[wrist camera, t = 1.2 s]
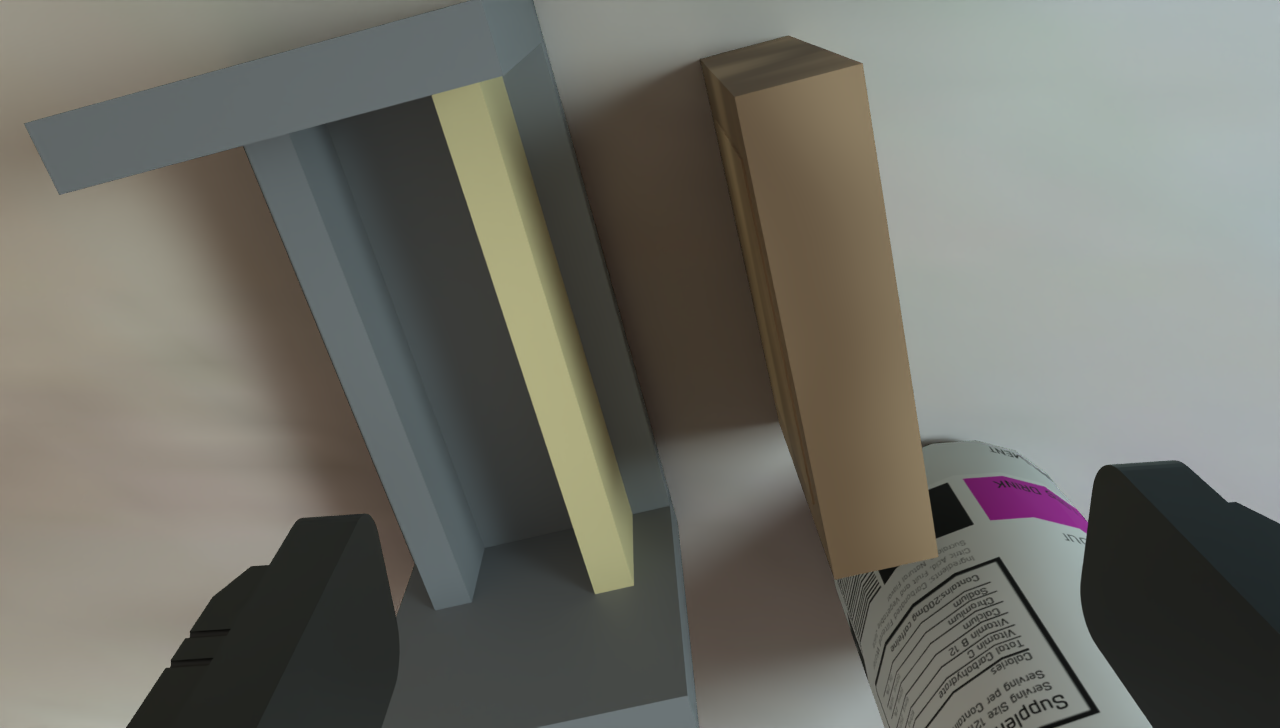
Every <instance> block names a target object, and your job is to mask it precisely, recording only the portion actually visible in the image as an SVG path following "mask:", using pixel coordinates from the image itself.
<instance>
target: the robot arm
mask: <svg viewBox="0 0 1280 728" xmlns="http://www.w3.org/2000/svg"><path fill="white" fill-rule="evenodd" d="M1080 597H1081V606H1082V611H1083V616H1084V619H1085V623H1086V626H1087V628H1088V631H1089V633H1090V635H1091V637H1092V639H1093V641H1094V643H1095V644H1096V646H1097V647H1098V649H1099V650H1100V652H1101V653H1102V654H1103V656H1104V657H1105V659H1106V660H1107V662H1108V663H1109V665H1110V666H1111V667H1112V669H1113V670H1114V672H1115V673H1116V675H1117V676H1118V678H1119V679H1120V681H1121V682H1122V683H1123V685H1124V686H1125V688H1126V689H1127V691H1128V692H1129V694H1130V695H1131V697H1132V698H1133V699H1134V701H1135V702H1136V704H1137V705H1138V707H1139V708H1140V710H1141V711H1142V713H1143V714H1144V715H1145V717H1146V718H1147V720H1148V721H1149V723H1150V724H1151V726H1152V727H1153V728H1280V524H1279V523H1277V522H1275V521H1273V520H1271V519H1269V518H1267V517H1265V516H1263V515H1261V514H1259V513H1257V512H1255V511H1253V510H1251V509H1249V508H1247V507H1245V506H1243V505H1241V504H1239V503H1237V502H1230V503H1228V502H1227V501H1226V500H1225V499H1223V498H1222V497H1221V496H1220V495H1219V494H1218V493H1217V492H1216V491H1215V490H1213V489H1212V488H1211V487H1210V486H1209V485H1208V484H1207V483H1206V482H1204V481H1203V480H1202V479H1201V478H1200V477H1199V476H1198V475H1197V474H1195V473H1194V472H1193V471H1192V470H1191V469H1190V468H1189V467H1188V466H1186V465H1185V464H1184V463H1182V462H1179V461H1174V460H1172V461H1157V462H1143V463H1128V464H1113V465H1105V466H1103V467H1102V468H1101V469H1100V470H1099V471H1098V473H1097V475H1096V477H1095V480H1094V484H1093V490H1092V497H1091V505H1090V513H1089V520H1088V528H1087V536H1086V543H1085V551H1084V559H1083V566H1082V574H1081V582H1080ZM399 656H400V643H399V631H398V625H397V620H396V615H395V611H394V606H393V601H392V596H391V592H390V587H389V582H388V577H387V573H386V568H385V563H384V559H383V554H382V549H381V544H380V540H379V535H378V531H377V528H376V525H375V522H374V520H373V519H372V517H371V516H370V515H369V514H354V515H339V516H324V517H310V518H301V519H299V520H297V521H296V522H295V524H294V525H293V527H292V528H291V530H290V532H289V533H288V535H287V537H286V538H285V540H284V542H283V543H282V545H281V547H280V548H279V550H278V552H277V553H276V555H275V557H274V558H273V560H272V562H271V563H270V565H264V566H251V567H250V568H248V569H247V570H246V571H245V572H243V573H242V574H241V575H240V576H238V577H237V578H236V579H235V580H233V581H232V582H231V583H230V584H228V585H227V586H226V587H225V588H223V589H222V590H221V591H220V592H218V593H217V594H216V595H215V596H213V597H212V599H211V600H210V602H209V603H208V605H207V606H206V608H205V609H204V611H203V612H202V614H201V616H200V617H199V619H198V620H197V622H196V623H195V625H194V626H193V628H192V629H191V631H190V638H185V640H184V641H183V643H182V644H181V646H180V647H179V649H178V650H177V652H176V653H175V655H174V656H173V658H172V659H171V667H170V668H165V670H164V671H163V673H162V674H161V676H160V677H159V679H158V680H157V682H156V683H155V685H154V686H153V688H152V689H151V691H150V692H149V694H148V695H147V697H146V699H145V700H144V702H143V703H142V705H141V706H140V708H139V709H138V711H137V712H136V714H135V715H134V717H133V718H132V720H131V721H130V723H129V724H128V726H127V727H126V728H382V725H383V722H384V719H385V716H386V713H387V710H388V707H389V704H390V700H391V697H392V694H393V691H394V688H395V685H396V681H397V676H398V669H399Z"/></svg>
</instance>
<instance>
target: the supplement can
mask: <svg viewBox="0 0 1280 728" xmlns="http://www.w3.org/2000/svg"><path fill="white" fill-rule="evenodd" d="M922 452H923V459H924V465H925V472H926V478H927V485H928V491H929V498H930V504H931V510H932V517H933V523H934V530H935V536H936V543H937V549H938V556H939V557H937V558H932V559H928V560H923V561H919V562H914V563H910V564H905V565H900V566H896V567H891V568H887V569H882V570H878V571H873V572H868V573H864V574H859V575H855V576H850V577H846V578H841V579H837V580H835V579H834V582H835V587H836V590H837V593H838V596H839V599H840V601H841V604H842V607H843V610H844V613H845V616H846V619H847V621H848V624H849V627H850V630H851V633H852V636H853V639H854V641H855V644H856V647H857V650H858V653H859V656H860V659H861V661H862V664H863V667H864V670H865V673H866V676H867V679H868V681H869V684H870V687H871V690H872V693H873V696H874V699H875V701H876V704H877V707H878V710H879V713H880V716H881V719H882V722H883V724H884V727H885V728H1153V727H1152V726H1151V724H1150V723H1149V721H1148V720H1147V718H1146V717H1145V715H1144V714H1143V713H1142V711H1141V710H1140V708H1139V707H1138V705H1137V704H1136V702H1135V701H1134V699H1133V698H1132V697H1131V695H1130V694H1129V692H1128V691H1127V689H1126V688H1125V686H1124V685H1123V683H1122V682H1121V681H1120V679H1119V678H1118V676H1117V675H1116V673H1115V672H1114V670H1113V669H1112V667H1111V666H1110V665H1109V663H1108V662H1107V660H1106V659H1105V657H1104V656H1103V654H1102V653H1101V652H1100V650H1099V649H1098V647H1097V646H1096V644H1095V643H1094V641H1093V639H1092V637H1091V635H1090V633H1089V631H1088V628H1087V626H1086V623H1085V619H1084V616H1083V611H1082V606H1081V597H1080V582H1081V574H1082V566H1083V559H1084V551H1085V543H1086V536H1087V528H1088V522H1087V521H1086V520H1085V518H1084V517H1083V516H1082V515H1081V514H1080V513H1079V511H1078V510H1077V509H1076V508H1075V507H1074V505H1073V504H1072V503H1071V502H1070V501H1069V500H1068V498H1067V497H1066V496H1065V495H1064V494H1063V493H1062V491H1061V490H1060V489H1059V488H1058V487H1057V485H1056V484H1055V483H1054V482H1053V481H1052V480H1051V478H1050V477H1049V476H1048V475H1047V474H1046V473H1045V472H1044V471H1043V470H1041V469H1040V468H1038V467H1037V466H1036V465H1034V464H1033V463H1032V462H1030V461H1029V460H1027V459H1026V458H1025V457H1023V456H1022V455H1020V454H1019V453H1018V452H1016V451H1014V450H1010V449H1006V448H1003V447H999V446H995V445H991V444H987V443H983V442H979V441H963V442H949V443H935V444H930V445H928V446H925V447H923V448H922ZM833 577H834V576H833Z"/></svg>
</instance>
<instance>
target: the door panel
mask: <svg viewBox="0 0 1280 728" xmlns="http://www.w3.org/2000/svg"><path fill="white" fill-rule="evenodd" d="M700 62H701V66H702V71H703V76H704V80H705V85H706V89H707V94H708V99H709V103H710V108H711V112H712V117H713V122H714V126H715V131H716V135H717V140H718V144H719V149H720V154H721V158H722V163H723V167H724V172H725V177H726V181H727V186H728V190H729V195H730V200H731V204H732V209H733V213H734V218H735V222H736V227H737V232H738V236H739V241H740V245H741V250H742V255H743V259H744V264H745V268H746V273H747V278H748V282H749V287H750V291H751V296H752V301H753V305H754V310H755V314H756V319H757V323H758V328H759V333H760V337H761V342H762V346H763V351H764V356H765V360H766V365H767V369H768V374H769V379H770V383H771V388H772V392H773V397H774V401H775V406H776V411H777V415H778V420H779V423H780V426H781V429H782V432H783V435H784V438H785V440H786V443H787V446H788V449H789V452H790V455H791V457H792V460H793V463H794V466H795V469H796V472H797V474H798V477H799V480H800V483H801V486H802V489H803V491H804V494H805V497H806V500H807V503H808V506H809V508H810V511H811V514H812V517H813V520H814V523H815V525H816V528H817V531H818V534H819V537H820V540H821V542H822V545H823V548H824V551H825V554H826V557H827V559H828V562H829V565H830V568H831V571H832V574H833V576H834V579H835V580H837V579H841V578H846V577H850V576H855V575H859V574H864V573H868V572H873V571H878V570H882V569H887V568H891V567H896V566H900V565H905V564H910V563H914V562H919V561H923V560H928V559H932V558H937V557H939V556H938V549H937V543H936V536H935V530H934V523H933V517H932V510H931V504H930V498H929V491H928V485H927V478H926V472H925V465H924V459H923V452H922V446H921V439H920V433H919V426H918V420H917V413H916V407H915V400H914V394H913V387H912V381H911V374H910V368H909V361H908V355H907V348H906V342H905V335H904V329H903V322H902V316H901V310H900V303H899V297H898V290H897V284H896V277H895V271H894V264H893V258H892V251H891V245H890V238H889V232H888V225H887V219H886V212H885V206H884V199H883V193H882V186H881V180H880V173H879V167H878V160H877V154H876V147H875V141H874V135H873V128H872V122H871V115H870V109H869V102H868V96H867V89H866V83H865V76H864V70H863V63H860V62H857V61H855V60H852V59H849V58H847V57H844V56H841V55H839V54H836V53H833V52H831V51H828V50H825V49H823V48H820V47H817V46H815V45H812V44H809V43H807V42H804V41H801V40H799V39H796V38H793V37H791V36H785V37H781V38H778V39H774V40H770V41H766V42H763V43H759V44H755V45H751V46H747V47H744V48H740V49H736V50H732V51H729V52H725V53H721V54H717V55H714V56H710V57H706V58H702V59H700Z"/></svg>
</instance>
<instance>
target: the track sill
mask: <svg viewBox="0 0 1280 728" xmlns="http://www.w3.org/2000/svg"><path fill="white" fill-rule="evenodd" d="M24 125H25V127H26V129H27V131H28V133H29V135H30V137H31V139H32V141H33V143H34V145H35V147H36V149H37V151H38V153H39V155H40V157H41V159H42V161H43V163H44V165H45V167H46V169H47V171H48V173H49V175H50V177H51V179H52V181H53V183H54V185H55V187H56V189H57V191H58V193H59V195H61V194H65V193H68V192H72V191H76V190H79V189H83V188H87V187H91V186H94V185H98V184H102V183H106V182H109V181H113V180H117V179H120V178H124V177H128V176H132V175H135V174H139V173H143V172H147V171H150V170H154V169H158V168H161V167H165V166H169V165H173V164H176V163H180V162H184V161H188V160H191V159H195V158H199V157H203V156H206V155H210V154H214V153H217V152H221V151H225V150H229V149H232V148H236V147H240V146H243V147H244V150H245V152H246V154H247V157H248V159H249V162H250V164H251V167H252V169H253V171H254V174H255V176H256V179H257V181H258V184H259V186H260V189H261V191H262V193H263V196H264V198H265V201H266V203H267V206H268V208H269V210H270V213H271V215H272V218H273V220H274V223H275V225H276V227H277V230H278V232H279V235H280V237H281V240H282V242H283V244H284V247H285V249H286V252H287V254H288V257H289V259H290V261H291V264H292V266H293V269H294V271H295V274H296V276H297V278H298V281H299V283H300V286H301V288H302V291H303V293H304V296H305V298H306V300H307V303H308V305H309V308H310V310H311V313H312V315H313V317H314V320H315V322H316V325H317V327H318V330H319V332H320V334H321V337H322V339H323V342H324V344H325V347H326V349H327V351H328V354H329V356H330V359H331V361H332V364H333V366H334V368H335V371H336V373H337V376H338V378H339V381H340V383H341V386H342V388H343V390H344V393H345V395H346V398H347V400H348V403H349V405H350V407H351V410H352V412H353V415H354V417H355V420H356V422H357V424H358V427H359V429H360V432H361V434H362V437H363V439H364V441H365V444H366V446H367V449H368V451H369V454H370V456H371V458H372V461H373V463H374V466H375V468H376V471H377V473H378V476H379V478H380V480H381V483H382V485H383V488H384V490H385V493H386V495H387V497H388V500H389V502H390V505H391V507H392V510H393V512H394V514H395V517H396V519H397V522H398V524H399V527H400V529H401V531H402V534H403V536H404V539H405V541H406V544H407V546H408V548H409V551H410V553H411V556H412V558H413V561H414V563H415V565H414V568H413V571H412V574H411V576H410V579H409V582H408V585H407V588H406V591H405V594H404V597H403V599H402V602H401V605H400V608H399V611H398V614H397V617H396V620H397V625H398V631H399V643H400V656H399V669H398V676H397V681H396V685H395V688H394V691H393V694H392V697H391V700H390V704H389V707H388V710H387V713H386V716H385V719H384V722H383V725H382V728H699V723H698V713H697V703H696V694H695V684H694V674H693V665H692V655H691V645H690V636H689V626H688V616H687V607H686V597H685V587H684V578H683V568H682V559H681V549H680V539H679V530H678V523H677V519H676V515H675V512H674V508H673V505H672V501H671V497H670V494H669V490H668V487H667V483H666V479H665V476H664V472H663V468H662V465H661V461H660V458H659V454H658V450H657V447H656V443H655V440H654V436H653V432H652V429H651V425H650V422H649V418H648V414H647V411H646V407H645V404H644V400H643V396H642V393H641V389H640V385H639V382H638V378H637V375H636V371H635V367H634V364H633V360H632V357H631V353H630V349H629V346H628V342H627V339H626V335H625V331H624V328H623V324H622V321H621V317H620V313H619V310H618V306H617V302H616V299H615V295H614V292H613V288H612V284H611V281H610V277H609V274H608V270H607V266H606V263H605V259H604V256H603V252H602V248H601V245H600V241H599V237H598V234H597V230H596V227H595V223H594V219H593V216H592V212H591V209H590V205H589V201H588V198H587V194H586V191H585V187H584V183H583V180H582V176H581V173H580V169H579V165H578V162H577V158H576V154H575V151H574V147H573V144H572V140H571V136H570V133H569V129H568V126H567V122H566V118H565V115H564V111H563V108H562V104H561V100H560V97H559V93H558V89H557V86H556V82H555V79H554V75H553V71H552V68H551V64H550V61H549V57H548V53H547V50H546V46H545V43H544V39H543V35H542V32H541V28H540V25H539V21H538V17H537V14H536V10H535V6H534V3H533V0H471V1H467V2H464V3H460V4H456V5H453V6H449V7H445V8H442V9H438V10H435V11H431V12H427V13H424V14H420V15H416V16H413V17H409V18H405V19H402V20H398V21H395V22H391V23H387V24H384V25H380V26H376V27H373V28H369V29H366V30H362V31H358V32H355V33H351V34H347V35H344V36H340V37H336V38H333V39H329V40H326V41H322V42H318V43H315V44H311V45H307V46H304V47H300V48H297V49H293V50H289V51H286V52H282V53H278V54H275V55H271V56H267V57H264V58H260V59H257V60H253V61H249V62H246V63H242V64H238V65H235V66H231V67H227V68H224V69H220V70H217V71H213V72H209V73H206V74H202V75H198V76H195V77H191V78H188V79H184V80H180V81H177V82H173V83H169V84H166V85H162V86H158V87H155V88H151V89H148V90H144V91H140V92H137V93H133V94H129V95H126V96H122V97H119V98H115V99H111V100H108V101H104V102H100V103H97V104H93V105H89V106H86V107H82V108H79V109H75V110H71V111H68V112H64V113H60V114H57V115H53V116H50V117H46V118H42V119H39V120H35V121H31V122H28V123H24Z"/></svg>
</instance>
